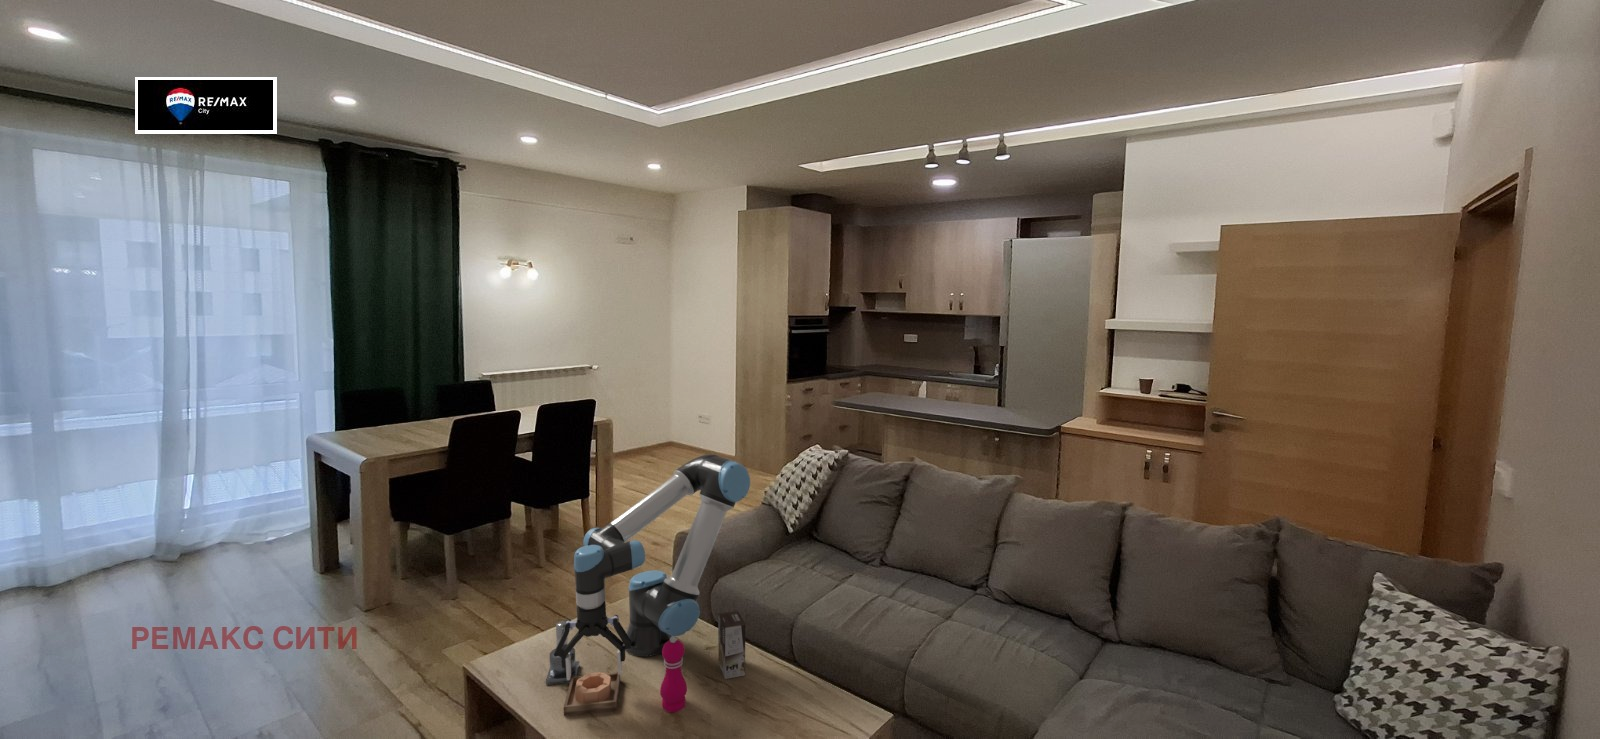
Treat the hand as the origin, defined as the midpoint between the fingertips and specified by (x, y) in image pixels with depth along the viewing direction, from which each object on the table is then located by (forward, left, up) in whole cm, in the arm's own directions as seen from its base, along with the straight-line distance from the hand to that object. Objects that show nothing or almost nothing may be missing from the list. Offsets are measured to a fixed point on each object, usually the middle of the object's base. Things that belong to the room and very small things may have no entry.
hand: (594, 674), depth 176 cm
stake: (+10, -12, -7) cm, 17 cm away
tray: (0, 0, -7) cm, 7 cm away
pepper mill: (-22, +7, -7) cm, 24 cm away
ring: (0, 0, -6) cm, 6 cm away
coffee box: (-39, -7, -7) cm, 40 cm away
